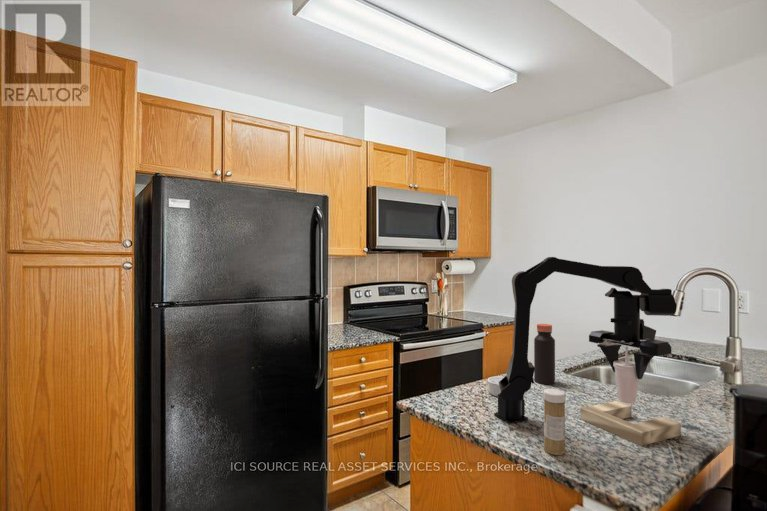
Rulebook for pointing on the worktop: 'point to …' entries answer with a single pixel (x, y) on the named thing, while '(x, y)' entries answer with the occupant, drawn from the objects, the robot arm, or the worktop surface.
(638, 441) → the slot board
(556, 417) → the sprinkles bottle
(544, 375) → the vinegar
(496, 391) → the ramekin
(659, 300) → the robot arm
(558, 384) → the worktop surface
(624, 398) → the smoothie
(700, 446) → the worktop surface
